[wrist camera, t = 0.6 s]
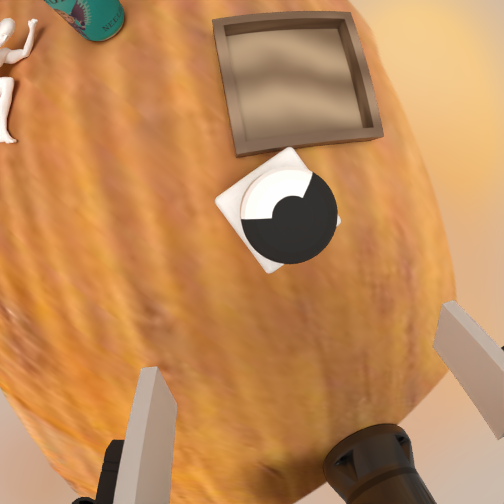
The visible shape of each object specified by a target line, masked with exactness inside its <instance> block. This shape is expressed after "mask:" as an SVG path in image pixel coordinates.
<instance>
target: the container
mask: <svg viewBox="0 0 504 504" xmlns="http://www.w3.org/2000/svg"><path fill="white" fill-rule="evenodd" d="M215 204H216V205H217V207H218V208H219V209H220V211H221V212H222V213H223V215H224V216H225V217H226V219H227V220H228V221H229V223H230V224H231V226H232V227H233V228H234V230H235V231H236V232H237V234H238V235H239V236H240V238H241V239H242V240H243V242H244V243H245V244H246V246H247V247H248V248H249V250H250V251H251V253H252V254H253V255H254V257H255V258H256V259H257V261H258V262H259V263H260V265H261V266H262V267H263V269H264V270H265V271H266V272H267V273H269V274H271V273H273V272H274V271H276V270H277V269H278V268H280V267H281V266H283V265H284V264H296V263H301V262H305V261H307V260H309V259H311V258H313V257H315V256H316V255H318V254H319V253H320V252H321V251H322V250H323V249H324V248H325V247H326V246H327V245H328V243H329V242H330V240H331V239H332V237H333V235H334V232H335V229H336V226H338V225H339V224H340V223H341V219H340V217H339V216H338V212H337V204H336V201H335V197H334V195H333V193H332V191H331V189H330V188H329V186H328V185H327V184H326V183H325V181H324V180H323V179H322V178H320V177H319V176H318V175H316V174H315V173H313V172H311V171H309V170H308V169H307V167H306V166H305V164H304V163H303V161H302V160H301V159H300V157H299V156H298V154H297V153H296V152H295V150H294V149H293V148H292V147H287V148H286V149H284V150H283V151H281V152H280V153H278V154H277V155H275V156H274V157H272V158H271V159H269V160H268V161H267V162H265V163H264V164H262V165H261V166H259V167H258V168H256V169H255V170H254V171H252V172H251V173H249V174H248V175H247V176H245V177H244V178H242V179H241V180H240V181H238V182H237V183H235V184H234V185H233V186H231V187H230V188H228V189H227V190H226V191H224V192H223V193H222V194H220V195H219V196H217V197H216V199H215Z"/></svg>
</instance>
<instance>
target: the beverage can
mask: <svg viewBox="0 0 504 504" xmlns="http://www.w3.org/2000/svg"><path fill="white" fill-rule="evenodd" d="M44 1H45V2H46V3H47V4H48V5H50V6H51V7H52V8H53V9H54V10H55V11H56V12H57V13H58V14H59V15H60V16H61V17H63V18H64V19H65V20H66V21H67V22H68V23H69V24H70V25H71V26H72V27H73V28H74V29H75V30H76V31H77V32H78V33H80V34H81V35H82V36H83V37H84V38H85V39H88V40H93V41H104V40H107V39H109V38H111V37H113V36H114V35H115V34H117V33H118V31H119V30H120V29H121V27H122V25H123V21H124V9H123V7H122V5H121V4H120V2H119V1H118V0H44Z"/></svg>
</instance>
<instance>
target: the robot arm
mask: <svg viewBox="0 0 504 504" xmlns="http://www.w3.org/2000/svg"><path fill="white" fill-rule="evenodd" d="M433 348H434V349H435V351H436V352H437V353H438V355H439V356H440V357H441V359H442V360H443V361H444V363H445V364H446V365H447V367H448V368H449V369H450V371H451V372H452V373H453V374H454V376H455V377H456V379H457V380H458V381H459V383H460V384H461V386H462V387H463V389H464V390H465V391H466V393H467V394H468V396H469V397H470V399H471V400H472V401H473V403H474V404H475V406H476V407H477V409H478V410H479V412H480V413H481V415H482V416H483V418H484V419H485V421H486V422H487V424H488V425H489V427H490V428H491V430H492V431H493V433H494V435H495V436H496V438H497V439H498V440H499V439H501V438H502V437H504V346H503V347H502V348H500V347H499V345H497V343H496V342H495V341H494V340H493V339H492V338H491V337H490V336H489V335H488V334H487V333H486V332H485V331H484V330H483V329H482V328H481V326H479V325H478V323H477V322H476V321H475V320H473V318H472V317H471V316H469V314H468V313H467V312H466V311H465V310H464V309H463V308H462V307H461V306H460V305H458V303H456V302H455V301H454V300H452V301H449V302H446V303H443V304H442V306H441V312H440V317H439V322H438V326H437V331H436V335H435V340H434V344H433ZM177 407H178V405H177V403H176V401H175V399H174V397H173V395H172V394H171V392H170V390H169V388H168V386H167V384H166V382H165V380H164V378H163V376H162V374H161V372H160V370H159V368H158V366H156V367H146V368H142V369H141V372H140V376H139V380H138V384H137V388H136V392H135V397H134V401H133V405H132V409H131V414H130V418H129V422H128V427H127V432H126V436H125V440H112V442H111V443H110V445H109V446H108V448H107V449H106V452H105V456H104V463H103V465H102V472H101V474H100V479H99V484H98V489H97V494H96V499H95V500H93V499H91V498H89V497H81V498H78V499H76V500H75V501H74V502H72V504H170V489H171V474H172V461H173V449H174V437H175V427H176V416H177ZM323 471H324V474H325V477H326V480H327V482H328V483H329V484H330V486H331V487H332V488H333V489H334V490H335V491H336V492H337V493H338V494H339V495H340V496H341V498H342V499H343V500H344V501H345V502H346V504H437V503H436V502H435V500H434V498H433V497H432V495H431V493H430V492H429V490H428V489H427V487H426V485H425V484H424V482H423V480H422V479H421V477H420V476H419V474H418V473H417V471H416V469H415V466H414V459H413V452H412V446H411V441H410V439H409V437H408V435H407V434H406V432H405V431H404V430H403V429H402V428H401V427H399V426H397V425H392V424H383V425H377V426H372V427H369V428H366V429H363V430H361V431H359V432H357V433H355V434H353V435H351V436H349V437H348V438H346V439H344V440H343V441H342V442H340V443H339V444H338V445H337V446H336V447H334V448H333V449H332V451H331V452H330V453H329V454H328V456H327V457H326V459H325V461H324V464H323Z"/></svg>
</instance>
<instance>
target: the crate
mask: <svg viewBox="0 0 504 504" xmlns="http://www.w3.org/2000/svg"><path fill="white" fill-rule="evenodd" d="M212 23H213V31H214V38H215V43H216V49H217V54H218V60H219V65H220V71H221V76H222V82H223V87H224V92H225V98H226V103H227V109H228V114H229V120H230V125H231V131H232V136H233V142H234V147H235V153H236V158H239V157H245V156H251V155H257V154H263V153H269V152H276V151H283V150H284V149H286V148H287V147H292V148H293V149H297V148H305V147H313V146H321V145H330V144H339V143H350V142H361V141H371V140H374V139H377V138H381V137H384V133H383V128H382V123H381V118H380V114H379V109H378V105H377V101H376V96H375V92H374V88H373V84H372V80H371V76H370V73H369V69H368V65H367V62H366V58H365V55H364V52H363V48H362V45H361V42H360V39H359V36H358V33H357V30H356V27H355V24H354V21H353V18H352V15H351V12H336V11H292V12H273V13H260V14H249V15H241V16H233V17H225V18H219V19H213V20H212Z"/></svg>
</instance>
